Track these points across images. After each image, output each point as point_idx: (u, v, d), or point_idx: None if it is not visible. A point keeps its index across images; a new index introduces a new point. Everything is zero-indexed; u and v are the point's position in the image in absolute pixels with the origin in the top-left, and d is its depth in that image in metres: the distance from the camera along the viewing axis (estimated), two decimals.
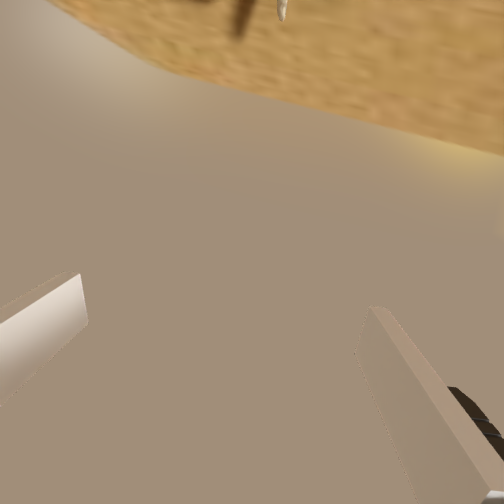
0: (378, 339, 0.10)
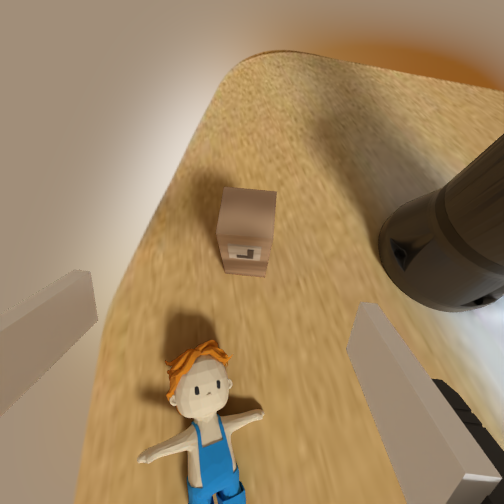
0: (368, 334, 0.10)
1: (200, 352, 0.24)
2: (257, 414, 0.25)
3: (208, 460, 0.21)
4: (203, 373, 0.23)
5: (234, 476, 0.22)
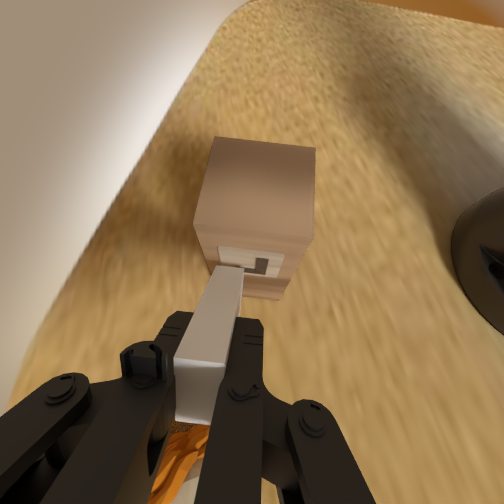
0: None
1: (197, 453, 0.13)
2: None
3: None
4: None
5: None
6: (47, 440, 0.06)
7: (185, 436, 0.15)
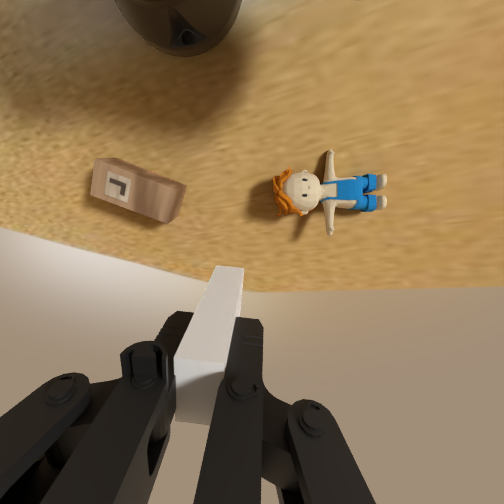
0: None
1: (280, 189, 0.33)
2: (330, 155, 0.34)
3: (345, 194, 0.33)
4: (295, 189, 0.32)
5: (359, 179, 0.33)
6: (47, 440, 0.06)
7: (276, 194, 0.35)
